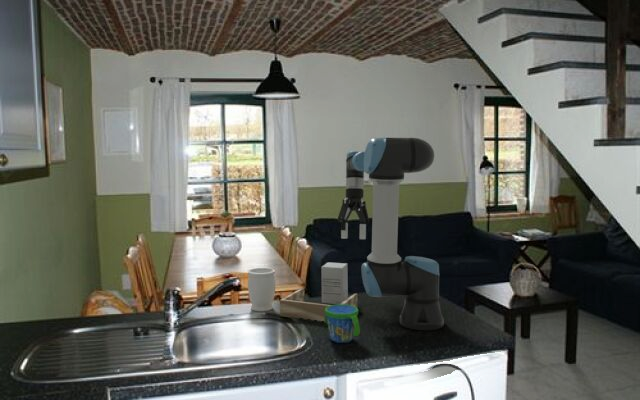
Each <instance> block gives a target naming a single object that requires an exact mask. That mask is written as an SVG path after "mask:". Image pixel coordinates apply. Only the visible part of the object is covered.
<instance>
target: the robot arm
mask: <svg viewBox="0 0 640 400" xmlns="http://www.w3.org/2000/svg"><path fill="white" fill-rule="evenodd" d="M434 161H435V151H434V148H433V147H432V145H431V144H430V143H429V142H427V141H426V140H424V139H421V138H417V137H373V138H371V139H370V140H369V142H367V144H366V147H365V150H364V151H356V150H355V151H349V152H347V153H346V159H345V162H346V163H345V164H346V165H345V166H346V168H345V169H346V170H345V188H346V189H345V198H342V204H341V207H340V211H339V213H338V216H337V222H339V223H340V235H341V236H340V238H341V239H343V240H344V239H348V238H349V237H348V236H349V234H348V233H349V231H348V229H349V228H348V227H349V223H348V220H349V218H350V216H351V214H352V212H355V213H356V215H357V217H358V219H359V220H358V221H359V222H360V224H359V240H366V239H367V225H368V224H369V223H370V217H369V214H368V210H367V204H366V200H362V199H363V198H364V191H365V190H364V188H365V184H364V183H365V175H364V174H367V175H368V179H369V180H370V181H371V183H372V184H373V185H372V187H373V188H372V220H371V221H372V225H371V226H372V228H371V252H370V253H369V254H368V256H366V258H367V259H366V262H364V263H362V264H361V269H360V270H361V278H362V284H363V287H364V289H365V292H366V294H367V295H368V296H369V297H373V298H375V297H376V298H386V297H387V298H388V297H400V296H401V297H402V296H404V302H403V306H402V309H401V312H400V315H399V324H400V325H401V326H402V327H404V328H407V329H410V330H416V331H435V330H439V329H441V328H443V327H444V326H445V325H444V323H445V322H444V320H445V319H444V316H443V314H442V309H441V305H440V302H439V301H440V275H441V274H440V264H439V263H438V262H437V261H436V260H434V259H431V258H427V257H424V256H414V255H409V256H405V258H404V261H402V257H401V256H400V255H399V254H398V237H399V236H398V235H399V234H398V231H399V201H400V184H401V183H402V182H403V181H404V179H405V174H412V173H414V174H415V173H419V172H423V171H425V170H427V169H429V168H430V167H431V166H432V164H433V162H434Z"/></svg>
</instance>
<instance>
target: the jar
mask: <svg viewBox="0 0 640 400" xmlns="http://www.w3.org/2000/svg"><path fill="white" fill-rule="evenodd" d="M274 274H276V270H275V269H274V268H269V267H258V268H257V267H256V268H251V269H249V270H247V275H248V280H247V292H248V298H249V300H250V304H251V306H250V309H251V310H252V311H254V312H269V311H272V309H274V306H273V302H274V301H275V300H274V299H275V293H276V292H275V291H276V279H275V275H274Z"/></svg>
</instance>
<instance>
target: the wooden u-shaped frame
mask: <svg viewBox="0 0 640 400" xmlns="http://www.w3.org/2000/svg"><path fill="white" fill-rule="evenodd" d="M341 304H345V305H351V306H355V307H356V308H358V293H353V294H352V295H350V296H348V299H346V300H345V301H344V302H342V303H341ZM331 305H332V304H327V303H316V302H309V301H308V302H307V301H305V288H303V287H301V288H299V289H297V290H295V291H293V292H291V293H290V294H288V295H286V296H285V297H283V298H281V299H280V300H279V316H280V317H283V318H284V317H286V318H291V317H293V318H292V319H299V318H303V319H302V320H307V319H311V320H310V321H314V320H317V321H316V322H322V321H324V318H325V309H326V307H328V306H331ZM323 323H325V321H324V322H323Z"/></svg>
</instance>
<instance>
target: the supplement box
mask: <svg viewBox="0 0 640 400" xmlns="http://www.w3.org/2000/svg"><path fill="white" fill-rule="evenodd" d="M348 270H349V269H348V263H347V262H346V263H345V262H344V263H342V262H326V263H325V264H324V265H322V266H321V271H320V272H321V304H326V305H337V304H341V303H342V302H344V301H345V300H346V299H348V298H349V291H348V290H349V289H348V288H349V287H348V286H349V285H348V281H349V280H348V278H349V277H348Z"/></svg>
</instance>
